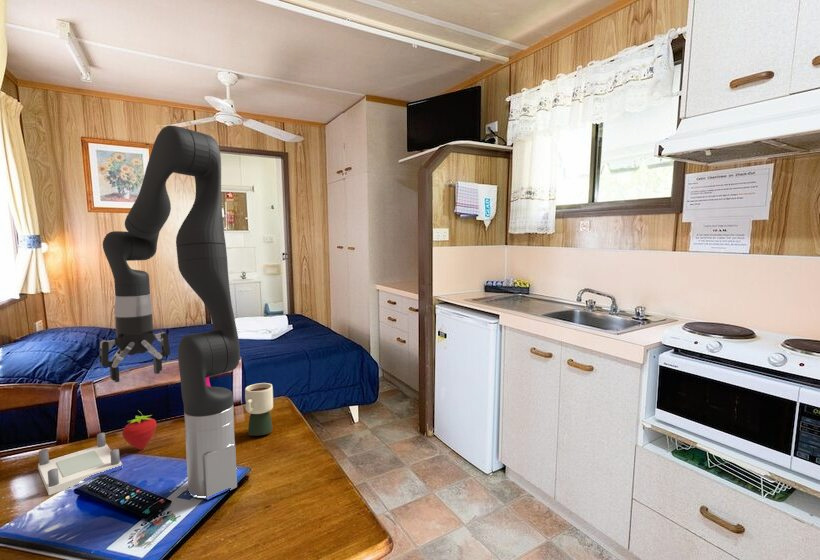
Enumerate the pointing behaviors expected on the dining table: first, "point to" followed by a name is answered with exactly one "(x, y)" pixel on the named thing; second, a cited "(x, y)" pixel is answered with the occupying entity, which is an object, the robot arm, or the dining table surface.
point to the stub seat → (76, 465)
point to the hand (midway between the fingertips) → (137, 377)
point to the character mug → (259, 408)
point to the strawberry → (139, 431)
